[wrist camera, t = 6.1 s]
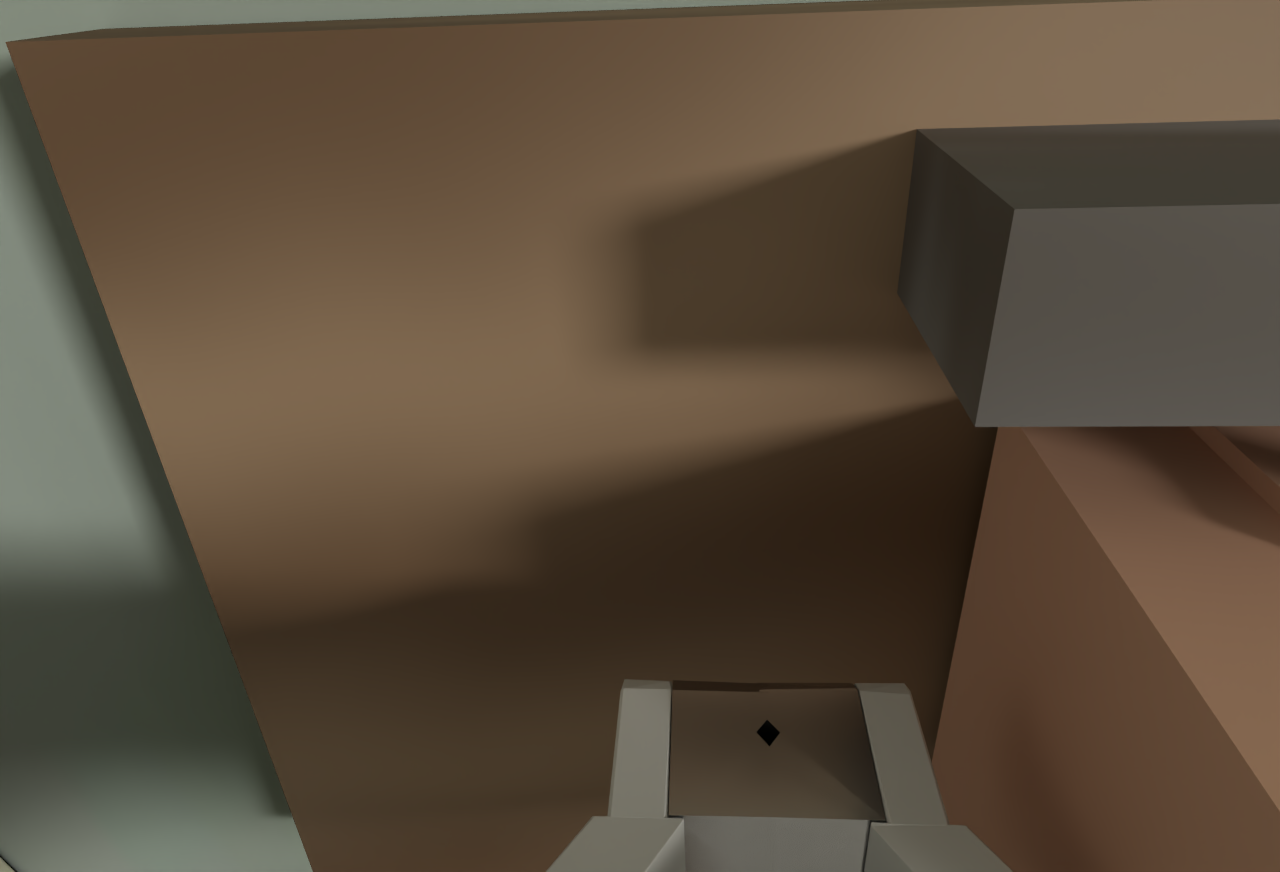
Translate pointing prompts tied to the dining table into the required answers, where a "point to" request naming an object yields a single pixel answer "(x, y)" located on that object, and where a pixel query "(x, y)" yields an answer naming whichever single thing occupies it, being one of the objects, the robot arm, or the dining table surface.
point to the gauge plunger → (1121, 653)
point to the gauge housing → (639, 347)
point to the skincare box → (5, 866)
